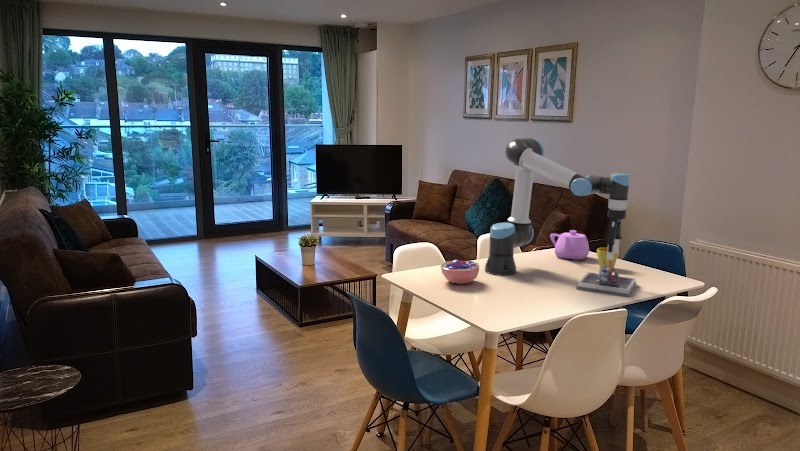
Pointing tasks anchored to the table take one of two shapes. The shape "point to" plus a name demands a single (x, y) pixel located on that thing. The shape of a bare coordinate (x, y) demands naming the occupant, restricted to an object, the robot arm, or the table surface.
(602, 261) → the plant pot
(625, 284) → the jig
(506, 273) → the robot arm
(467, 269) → the cell model
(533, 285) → the table surface
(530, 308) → the table surface
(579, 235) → the teapot
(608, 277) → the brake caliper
